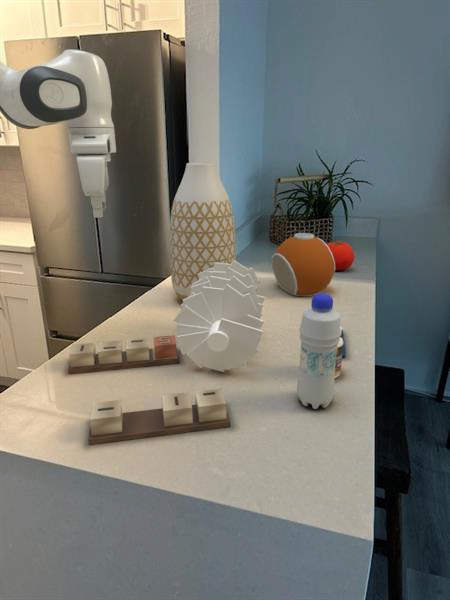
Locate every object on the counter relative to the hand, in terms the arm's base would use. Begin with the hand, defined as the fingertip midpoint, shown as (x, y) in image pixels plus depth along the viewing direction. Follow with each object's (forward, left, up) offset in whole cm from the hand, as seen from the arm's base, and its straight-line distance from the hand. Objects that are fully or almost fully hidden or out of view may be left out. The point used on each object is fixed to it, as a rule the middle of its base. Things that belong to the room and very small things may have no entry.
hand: (100, 213), depth 91 cm
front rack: (+9, -35, -29) cm, 46 cm away
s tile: (+11, -12, -28) cm, 32 cm away
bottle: (+36, -34, -29) cm, 58 cm away
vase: (+25, +23, -29) cm, 45 cm away
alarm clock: (+56, +25, -29) cm, 68 cm away
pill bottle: (+42, -25, -29) cm, 57 cm away
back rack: (+3, -12, -29) cm, 32 cm away
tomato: (+76, +44, -29) cm, 93 cm away
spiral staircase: (+24, -11, -29) cm, 39 cm away
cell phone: (+48, -12, -29) cm, 57 cm away
